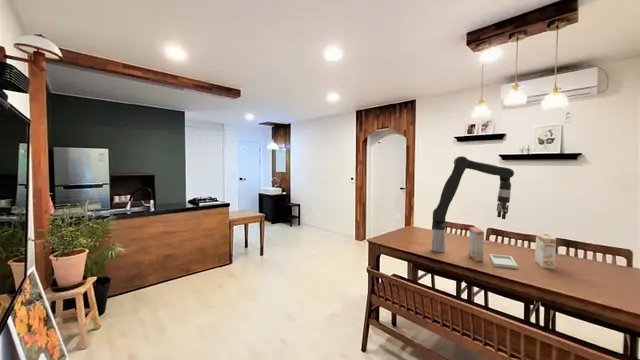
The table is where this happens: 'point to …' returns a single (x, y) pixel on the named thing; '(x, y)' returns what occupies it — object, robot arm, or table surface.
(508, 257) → the sage tray
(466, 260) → the table surface
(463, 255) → the table surface
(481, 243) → the cracker box
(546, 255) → the coffeecake box
